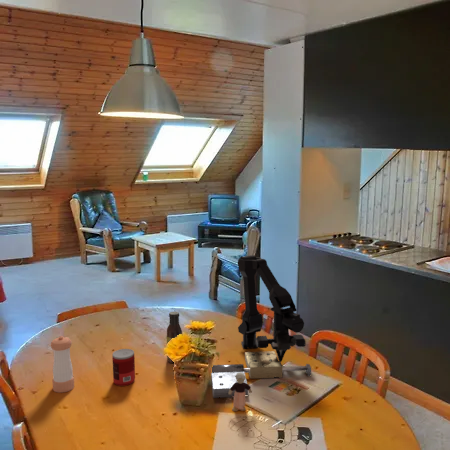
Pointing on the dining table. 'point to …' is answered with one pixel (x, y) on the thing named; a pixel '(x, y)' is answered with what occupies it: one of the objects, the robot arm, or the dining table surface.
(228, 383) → the fixed leaf
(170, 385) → the dining table surface
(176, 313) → the sauce bottle
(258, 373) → the beige block with rivets
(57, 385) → the pepper shaker
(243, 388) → the grandmother figurine
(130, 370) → the canned food
